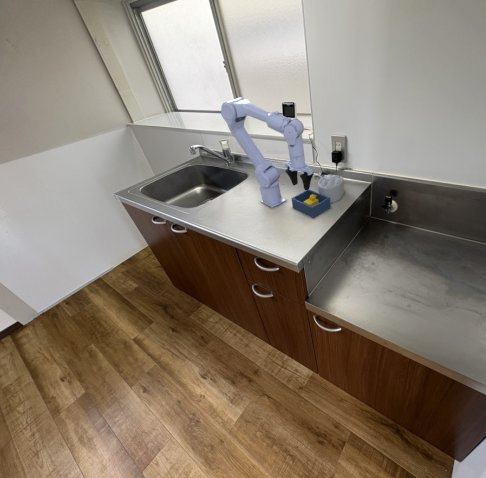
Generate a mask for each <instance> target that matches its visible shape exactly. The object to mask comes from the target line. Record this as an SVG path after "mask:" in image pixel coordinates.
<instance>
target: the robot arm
mask: <svg viewBox="0 0 486 478" xmlns="http://www.w3.org/2000/svg"><path fill="white" fill-rule="evenodd" d="M220 115H221V118H222V119H223V120H224V122H225V123H226V125H227V127H228V130H229V131H230V133H231V134H232V136H233V137H234V139H235V140H236V142H237V143H238V145H239V146H240V148H241V149H242V150H243V152H244V153H245V155H246V156H247V157H248V159H249V160H250V162H251V164H252V165H253V166H254V168H255V171H254V176H255V178H256V179H257V183H258V185H259V191H260V195H261V200H260V201H261V203H262V204H265V205H266V206H268V207H270V208H272V209H273V208H275V207H277V206H279V205H281V204H283V203H284V202H286V201H287V200H286V199H285V198H283V197H282V193H281V189H280V184H279V182H280V180H279V179H280V178H281V172H280V170H279V168H277V166H275V165H274V164H273V163H272V161H269V160H266V158H265V157H264V155H263V153H262V152H261V151H260V149H259V148H258V146H257V145H256V143H255V141H254V140H253V139H252V137H251V136H250V134H249V133H248V131H247V129H246V128H245V122H246V119H247V116H248V117H251V118H253V119H256V120H258V121H261V122H263V123H266V125H267V128H269V129H271V130H273V131H275V132H278V133H280V134H281V135H283V137H284V138H285V140H286V144H287V149H288V156H289V161H285V164H284V165H285V168H286V169H285V170H284V172H285V174H287V176H288V178H289V179H290V181H291V184H292V186H296V185H298V183H299V179H298V172H301V174H300V175H299V178H300V179H301V181H302V185H303V189H304V191H306V190H308V189H310V187H311V181H312V179H313V176H314V173H315V172H314V170H313V168H312V167H310V166H308V165H307V164H306V158H305V149H304V141H303V134H304V131H305V126H304V124H303V122H302V121H301V120H300V119H298V118H293V119H292V118H291V117H289V116H288V117H287V116H284V115H283V114H280V111H278V110H277V111H271V112H268V111H267V110H265V109H262V108H261V107H260V106H257V105H256V104H253V103H252V102H251V101H249V99H246V98H244V97H242V96H241V97H240V96H239V97H237V98H235V99H232V100H229V101H225V102H223V103H222V104H221V107H220Z"/></svg>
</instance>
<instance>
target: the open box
mask: <svg viewBox="0 0 486 478" xmlns="http://www.w3.org/2000/svg"><path fill="white" fill-rule="evenodd" d="M312 194H313V195H317V197H316V199H318V201H319V203H318V204H317V205H315V206H313V207H311V206H309V205H307V204H305V203H303V202H304V201H306V200H307V199H309V198H310V195H312ZM291 204H292V209H294V210H296V211H298V212H299V213H302V214H304V215H306V216H308V217H309V218H311V219H316V218H318V216H320V215H322V214H323V213H325V212H327V211H328V210H330V209H332V208H331V207H332V206H331V203H330V198H329V197H327V196H324V195H322V194H319V192H316V191H314V190H313V189H310V188H309V189H308V190H304V191H302V192H300V193H298V194H297V195H294V196H293V197H291Z"/></svg>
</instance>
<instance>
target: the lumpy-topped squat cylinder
mask: <svg viewBox="0 0 486 478" xmlns="http://www.w3.org/2000/svg"><path fill="white" fill-rule="evenodd" d="M317 190H318V192H317V193H319V194H322V195H324V196H327V197H329V198H330V204H331V203H335V202H337V201H339V200H340V199H342V197H343V196H344V193H345V183H344V177H343V176H341V175H338V174H326V175H323V176H321V177H320V178H319V179H318V182H317Z"/></svg>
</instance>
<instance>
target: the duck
mask: <svg viewBox="0 0 486 478" xmlns="http://www.w3.org/2000/svg"><path fill="white" fill-rule="evenodd" d="M316 197H317V195H313V194H312V195H310V198H309V199H307V200H306V201H304V202H303V203H305V204H307V205H309V206H311V207H313V206H315V205H317V204H318V203H319V201H318V199H316Z"/></svg>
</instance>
